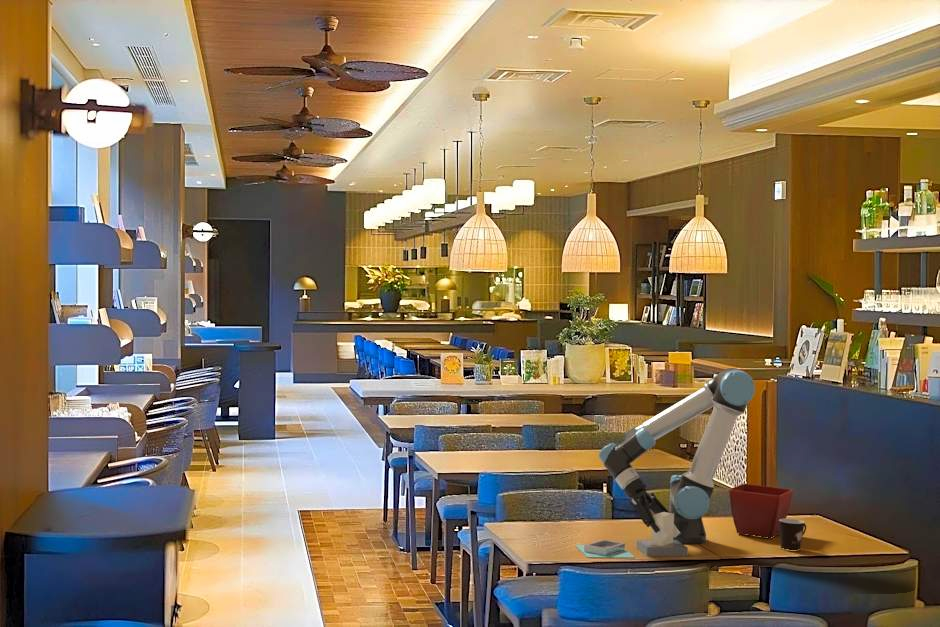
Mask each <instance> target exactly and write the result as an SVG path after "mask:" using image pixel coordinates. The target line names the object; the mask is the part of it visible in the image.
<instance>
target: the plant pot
mask: <svg viewBox="0 0 940 627" xmlns="http://www.w3.org/2000/svg"><path fill="white" fill-rule="evenodd" d="M793 492H794V490H793V489H790V488H789V489H788V488H782V487H776V486H775V487H774V486H767V485H760V484H751V483H741V484H739V485H736V486H734V487H731V488H729V489H728V494H729V495H728V496H729V502H730V503H729V504H730V510H731V515H732V518H733V519H732V520H733V523H734V527H735V530H736V533H737V534H738V533H739V534H738V535H741V534H748V535H755V536H761V537H768V538H771V537H773V536H775V535H777V534H779V533H780V525H779V520H780V519H787V516H788V513H789V510H790V506H791V502H792V498H793ZM779 535H780V534H779ZM777 536H778V535H777ZM775 537H776V536H775ZM773 538H774V537H773ZM771 539H772V538H771Z"/></svg>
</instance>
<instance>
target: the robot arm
mask: <svg viewBox="0 0 940 627" xmlns="http://www.w3.org/2000/svg"><path fill="white" fill-rule="evenodd" d="M755 386H756V385H755V381H754V379H753V378H752V377H751V375H750V374H749V373H747V372H746V371H745V370H741V369H739V368H736V367H729V368H726V369H724V370H722V371H720V372H719V373H717V374H716V375H715V376H713V377H712V378H710V379H709V380H707V381H706V382H705V383H704V384H703V386H702V388H700V389H698V390H697V391H694V392H693V393H691V394H690V395H688V396H686V397H685V398H682V399H681V400H680V401H678V402H676V403H674V404H673V405H671V406H669V407H668V408H666V409H664V410H663V411H661V412H660V413H658V414H656V415H655V416H652V417H650V418H649V419H647V420H646V421H644V422H642V423H641V424H638V426H636V427H632V428H629V429H628V430H627V432H626V433H625V434H624V440H623V441H622V442H621V443H620V444H618V445H617V444H616V443H615V442H612V443H611V442H610V443H609V444H607V445H605V446H603V447H602V449H600V451H599V452H598V458H599V459H600V461H601V463H602V464H603V466H604V467H605V468H606V470H607V471H608V472H609V474H610V475H611V476H612V477H613V479H614V481H615V482H616V483H617V485H618V486H619V487H620V489H621V490H623V492H624V494H625V495H626V497H627V498H628V500H629V499H630V500H629V504H631V506H633V508H634V509H635V511H636V513H637V514H638V515H639V518H640V519H641V521H642V522H643V524H644V525H645V526H646V527H647V528H649V527H651V530H652V529H653V530H654V531H655V533H656V534H657V535H658V537H659V538H660V540H661V541H662V542H663V541H664V540H665V539H667V538H668V535H667V534H666V533H665V531H664V530H663V529H662V527H661V526H660V525H659V523H658V522H657V521H656V522H655V520H654V518H653V515H654V514H657V513H661V512H668V513H674V528H673V540H677V541H679V542H680V543H682V544H703V543H705V542H706V541H707V533H706V529H705V525H704V521H703V517H704V515H705V514H706V513H707V512H708V510H709V508H710V504H711V502H710V499H711V497H712V494H713V491H714V488H715V485H714V482H713V480H714V477H715V476H716V475H715V474H716V472H717V469H718V467H719V465H720V462H721V459H722V457H723V454H724V452H725V449H726V448H727V444H728V442H729V439H730V437H731V435H732V432H733V429H734V427H735V424H736V422H737V419H738V418H739V416H741V415H743V414H744V413H745V412H746V411H745V410H746V409H747V407H748V404H749V403H750V401H751V400H752V399H753V397H754V396H755V391H756V387H755ZM711 408H712V412H711V414H710V417H709V419H708V422H707V424H706V427H705V429H704V432H703V434H702V437H701V439H700V442H699V445H698V446H697V448H696V451H695V453H694V457H693V459H692V460H691V461H692V462H691V464H690V467H689V469H688V471H686V472H684V473H682V474H679V475H678V474H674V475H672V476H671V477H670V481H669V485H670V489H669V491H670V493H669V509H668V510H667V508H666V507H665V506H664V504H662V503H661V501H660V500H659V499H658V497H656V495H655V493H654V492H651V493H649V492H647V491H646V489H647V484H646V483H645V482H644V480H643V479H642V478H641V477H640V476H639V474H638V472H637V471H636V469H635V468H634V467H633V466H632V465H631V464H632V463H633V462H634V461H636V460H637V459H639V457H641V456H642V455H644V454H645V453H646V452H647V451H650V450H651V449H652V447H655V445H656V444H657V441H656V440H658V439H660V438H662V437H663V436H665V435H667V434H668V433H670V432H672V431H675V429H676V428H678V427H680V426H682V425H684V424H686V423H687V422H689V421H691V420H693V419H694V418H696V417H697V416H700V415H701V414H703V413H704V412H706V411H708V410H709V409H711ZM652 512H653V513H654V514H653V513H652Z"/></svg>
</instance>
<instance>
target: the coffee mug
mask: <svg viewBox="0 0 940 627" xmlns="http://www.w3.org/2000/svg"><path fill="white" fill-rule="evenodd" d="M779 525H780V534H779V535H780V536H779V537H780V549H781V548H784V549H789V550H798V549H800V550H801V546H802V540H803V536H804V535H805V533H806V531H807V525H806V523H805V521H804V520H801V519H795V518H786V519H780V520H779Z"/></svg>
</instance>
